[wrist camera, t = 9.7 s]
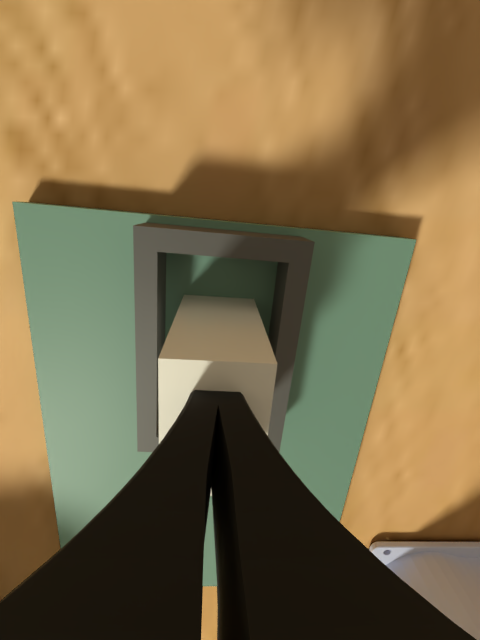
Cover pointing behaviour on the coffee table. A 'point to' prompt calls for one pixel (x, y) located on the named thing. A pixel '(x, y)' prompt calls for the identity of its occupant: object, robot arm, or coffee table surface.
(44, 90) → the coffee table surface
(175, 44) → the coffee table surface
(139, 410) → the board
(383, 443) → the coffee table surface
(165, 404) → the cream rectangular block
